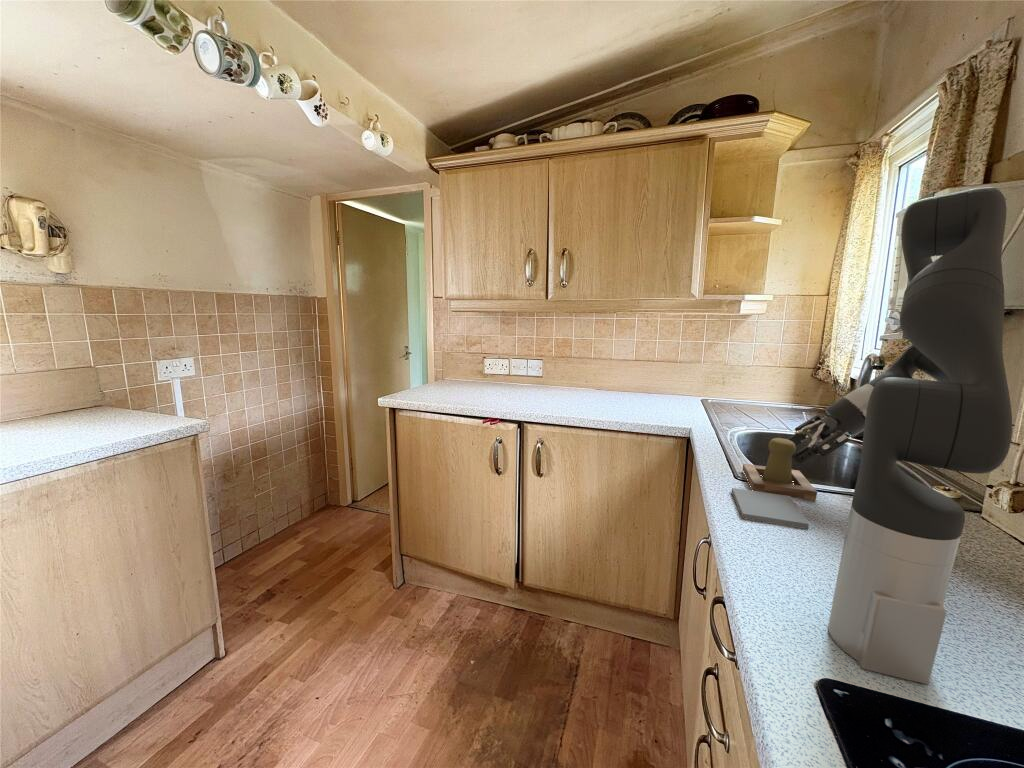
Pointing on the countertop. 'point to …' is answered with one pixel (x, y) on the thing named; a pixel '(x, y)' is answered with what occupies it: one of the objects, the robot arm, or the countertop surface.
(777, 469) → the cork
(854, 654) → the robot arm
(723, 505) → the countertop surface
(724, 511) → the countertop surface
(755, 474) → the walnut socket
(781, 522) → the slate pad
